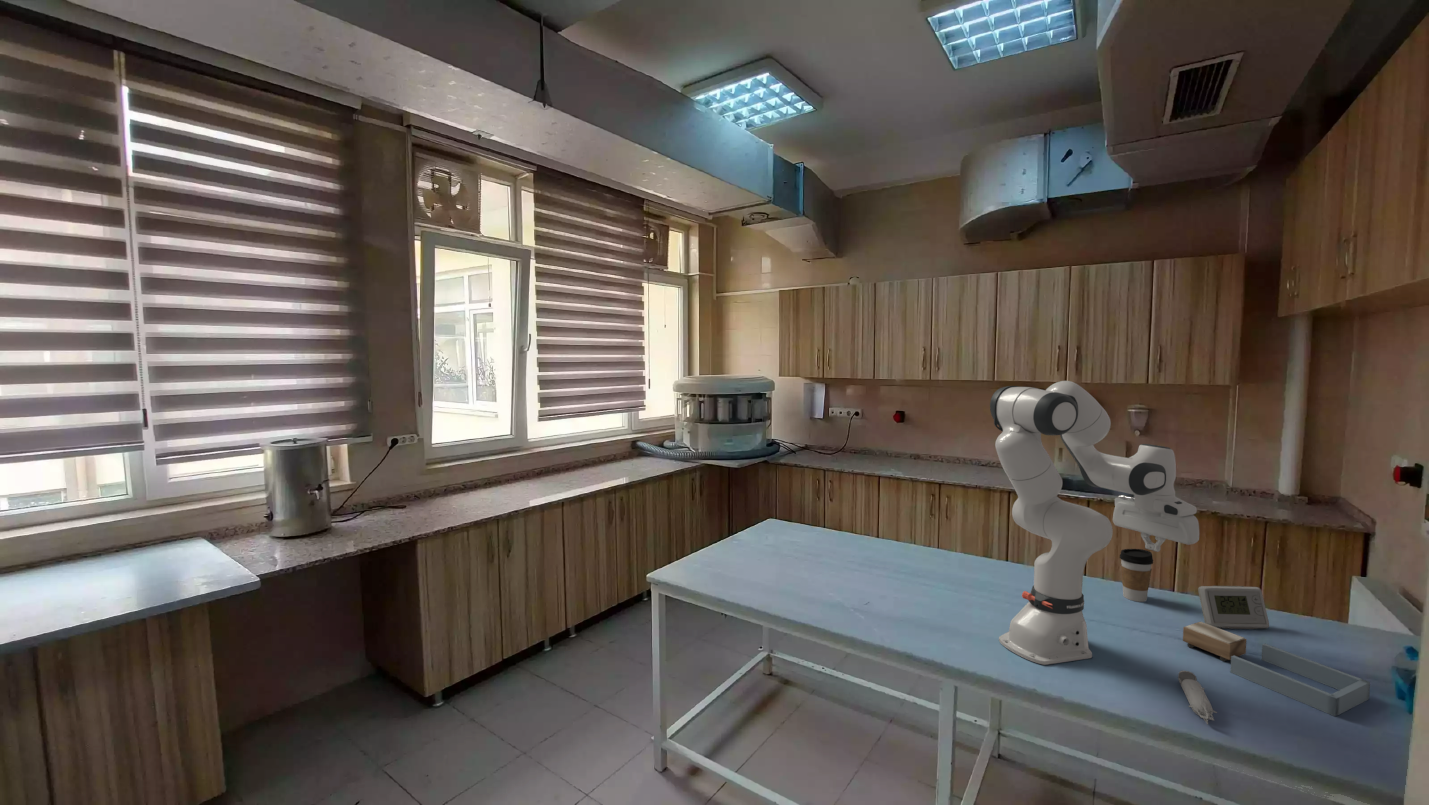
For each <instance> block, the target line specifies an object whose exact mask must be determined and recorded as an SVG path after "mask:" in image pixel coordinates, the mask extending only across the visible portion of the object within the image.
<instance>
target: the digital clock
mask: <svg viewBox="0 0 1429 805" xmlns="http://www.w3.org/2000/svg"><path fill="white" fill-rule="evenodd" d="M1197 590H1198V591H1197V592H1198V596H1199V602H1200V605H1201V610H1202V616H1203V619H1204V620H1203V621H1204V623H1206V624H1209V625H1211V626H1214V627H1217V628H1219V629H1241V630H1256V629H1268V628H1269V627H1270V622H1269V616H1268V612H1267V609H1266V605H1265V601H1264V596H1263V592H1262V589H1261V588H1260V587H1259V586H1258V587H1257V586H1244V585H1209V586H1208V585H1207V586H1206V585H1205V586H1204V585H1201V586H1199V587H1198V588H1197Z"/></svg>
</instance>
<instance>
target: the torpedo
mask: <svg viewBox="0 0 1429 805" xmlns="http://www.w3.org/2000/svg"><path fill="white" fill-rule="evenodd" d="M1177 676H1178V677H1177V678H1178V682H1179V684H1180V686H1181V689H1182V691H1183V692H1184V695H1185V697H1186V699H1187V701H1188V703H1189V705H1188V707H1189V708H1191V710H1192V712H1194V713H1195V714H1196V715H1197V716H1199V717H1200V718H1202V719H1203V720H1204V722H1205V723H1206V725H1208V726H1209V720H1211V721H1215V719H1214V716H1213V714H1214V713H1215V714H1217V713H1218V712H1217V711H1215V710H1214V709H1213V707H1212V703H1211V702H1210V700H1209V698H1208V696H1207V694H1206V692H1205V687H1202V684H1201V683H1200V682H1199V681H1198V679H1197V676H1196V675H1195V674H1194V672H1192V671H1189V670H1180V671H1178V674H1177Z"/></svg>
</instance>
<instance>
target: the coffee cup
mask: <svg viewBox="0 0 1429 805" xmlns="http://www.w3.org/2000/svg"><path fill="white" fill-rule="evenodd" d="M1119 559H1120V560H1121V561H1120V562H1121V563H1120V570H1121V582H1122V584H1121V585H1122V593H1123V594H1122V596H1123V597H1124V598H1125V599H1127V600H1130V601H1133V602H1138V603H1143V602H1147V599H1148V594H1149V588H1150V580H1151V574H1152V565H1153V563H1154V558H1153V554H1152V551H1150V550H1149V551H1148V549H1142V548H1123V549H1122V550H1121V551H1120V554H1119Z"/></svg>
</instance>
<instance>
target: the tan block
mask: <svg viewBox="0 0 1429 805" xmlns="http://www.w3.org/2000/svg"><path fill="white" fill-rule="evenodd" d="M1182 629H1183V630H1182V642H1185V643H1186V645H1187V647H1188V648H1189V649H1192V648H1195V647H1197V648H1199V649H1202V650H1204V651H1206V652H1209V653H1211V654H1214V655H1216V656H1219V660H1220V661H1222V662H1226V661H1231V656H1237V657H1241V656H1243V655H1245V654H1247V640H1248V639H1247V638H1245V637H1244V636H1241V635H1239V634H1235V633H1233V632H1230V631H1227V630H1224V629H1223V628H1220V627H1214V626H1211V625H1209V624H1206V623H1205V622H1203V621H1198V622H1195V623H1192V624H1189V625H1185V626H1183V628H1182Z"/></svg>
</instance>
